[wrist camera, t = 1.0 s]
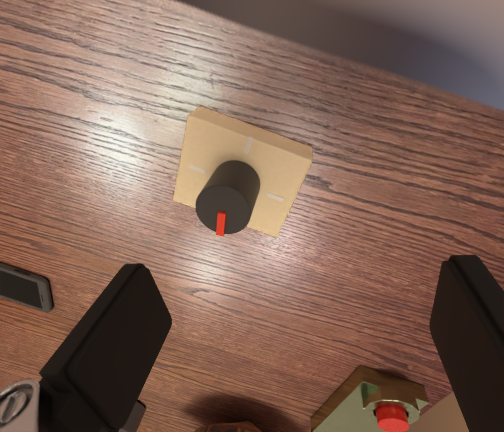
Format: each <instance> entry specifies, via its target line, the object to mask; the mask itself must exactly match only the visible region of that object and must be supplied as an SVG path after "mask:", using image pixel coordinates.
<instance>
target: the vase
mask: <svg viewBox="0 0 504 432" xmlns="http://www.w3.org/2000/svg"><path fill="white" fill-rule="evenodd" d="M194 432H262V431H260V430H259V429H258V428H257V427H256V426H254V425H253V424H252V423H251V422H249V421H242V422H238V423H218V424H211V425H207V426H204V427H201V428H199V429H197V430H196V431H194Z"/></svg>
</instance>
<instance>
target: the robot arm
mask: <svg viewBox="0 0 504 432" xmlns="http://www.w3.org/2000/svg"><path fill="white" fill-rule="evenodd" d="M171 325H172V318H171V315H170V313H169V311H168V309H167V307H166V305H165V303H164V300H163V298H162V296H161V294H160V292H159V290H158V288H157V285H156V283H155V281H154V279H153V277H152V275H151V273H150V271H149V269H148V268H146V267H145V266H144V265H143V264H140V263H139V264H125V265H124V266H123V267H122V268H121V269H120V270H119V272H118V273H117V274H116V275H115V277H114V278H113V279H112V281H111V282H110V283H109V284H108V286H107V287H106V288H105V289H104V291H103V292H102V293H101V295H100V296H99V297H98V298H97V300H96V301H95V302H94V303H93V305H92V306H91V307H90V309H89V310H88V311H87V312H86V314H85V315H84V316H83V317H82V319H81V320H80V321H79V323H78V324H77V325H76V326H75V328H74V329H73V330H72V331H71V333H70V334H69V335H68V336H67V338H66V339H65V340H64V342H63V343H62V344H61V345H60V347H59V348H58V349H57V350H56V352H55V353H54V354H53V356H52V357H51V358H50V359H49V361H48V362H47V363H46V364H45V366H44V367H43V368H42V370H41V371H40V372H39V374H40V375H41V376H42V377H43V378H42V379H41V381H40V382H39V383H38V381H37V380H36V379H32V378H26V379H21V380H19V381H16V382H14V383H12V384H10V385H9V386H7V387H6V388H4V389H3V390H2V391H0V432H119V430H120V429H121V428H122V427H124V425H125V424H126V422H127V420H128V418H129V416H130V414H131V412H132V410H133V407H134V405H135V403H136V401H137V399H138V397H139V395H140V392H141V390H142V388H143V386H144V384H145V382H146V380H147V377H148V375H149V373H150V371H151V369H152V367H153V365H154V362H155V360H156V358H157V356H158V354H159V352H160V350H161V347H162V345H163V343H164V341H165V339H166V337H167V334H168V332H169V330H170V328H171ZM430 332H431V335H432V338H433V341H434V343H435V346H436V348H437V351H438V353H439V356H440V358H441V361H442V363H443V366H444V368H445V371H446V374H447V376H448V379H449V381H450V384H451V386H452V389H453V391H454V394H455V396H456V399H457V401H458V404H459V407H460V409H461V412H462V414H463V417H464V419H465V422H466V424H467V427H468V429H469V432H504V291H503V289H502V288H501V287H500V285H499V284H498V283H497V281H496V280H495V279H494V277H493V276H492V275H491V273H490V272H489V270H488V269H487V268H486V266H485V265H484V264H483V262H482V261H481V260H480V258H479V257H478V256H476V255H452V256H450V258H449V260H448V261H443V262H442V265H441V270H440V275H439V280H438V285H437V290H436V295H435V299H434V304H433V309H432V314H431V319H430Z"/></svg>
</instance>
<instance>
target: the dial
mask: <svg viewBox="0 0 504 432" xmlns="http://www.w3.org/2000/svg"><path fill="white" fill-rule="evenodd" d="M259 190H260V179H259V176H258V174H257V172H256V171H255V170H254V169H253V168H252V167H251V166H250V165H248V164H247V163H245V162H242V161H238V160H230V161H226V162H224V163H222V164H220V165H219V166H218V167H217V168H216V170H215V171H214V173H213V174H212V176H211V177H210V179H209V180H208V182H207V183H206V185H205V186H204V188H203V189H202V190H201V192H200V193H199V195H198V197H197V199H196V204H195V206H196V212H197V215H198V217H199V219H200V220H201V222H202V223H203V224H204V225H205V226H206V227H208V228H209V229H211V230H213V231H215V232H216V235H220V236H224V234H233V233H237V232H239V231H241V230H242V229H244V228H245V227H246V226H247V225H248V223H249V221H250V218H251V215H252V212H253V209H254V206H255V203H256V200H257V197H258V193H259Z"/></svg>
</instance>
